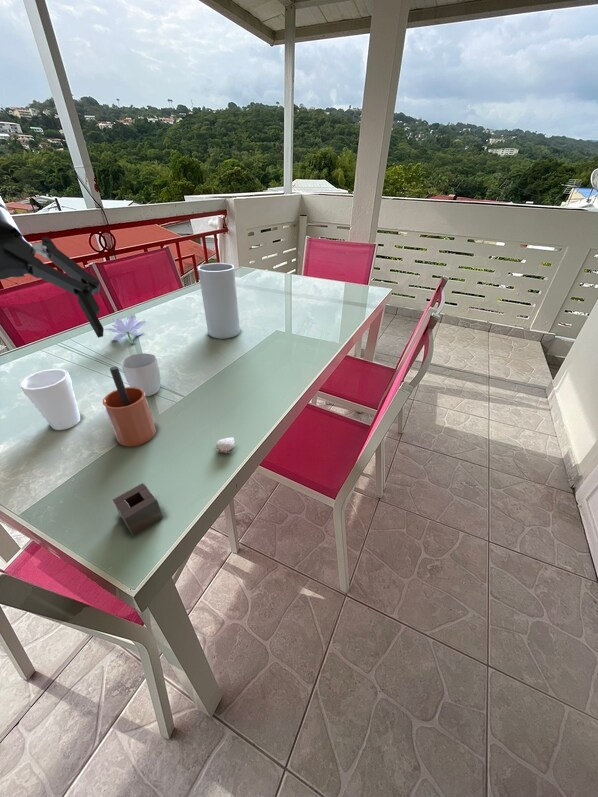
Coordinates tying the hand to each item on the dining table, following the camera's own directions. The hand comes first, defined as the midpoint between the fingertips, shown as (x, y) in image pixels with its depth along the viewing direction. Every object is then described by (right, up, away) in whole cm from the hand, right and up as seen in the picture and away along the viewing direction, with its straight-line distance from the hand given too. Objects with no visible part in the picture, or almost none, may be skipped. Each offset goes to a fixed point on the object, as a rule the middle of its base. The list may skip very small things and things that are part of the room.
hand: (50, 346), depth 47 cm
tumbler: (-4, -16, +33) cm, 37 cm away
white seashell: (+19, -19, +30) cm, 40 cm away
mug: (-9, -4, +51) cm, 52 cm away
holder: (+6, -30, +14) cm, 33 cm away
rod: (-4, -16, +33) cm, 37 cm away
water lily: (-28, +15, +78) cm, 84 cm away
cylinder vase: (+6, +19, +84) cm, 86 cm away
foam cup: (-24, -14, +37) cm, 46 cm away
